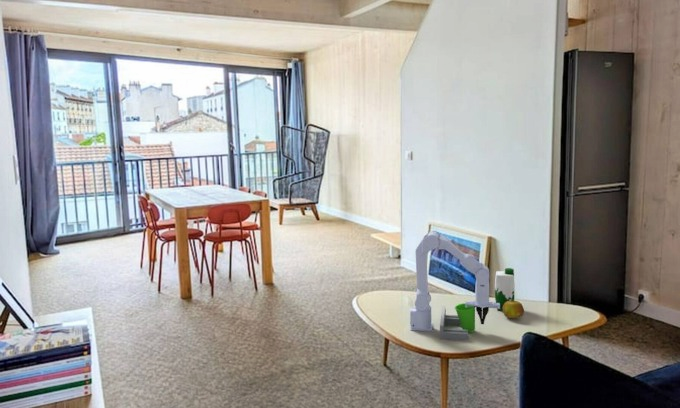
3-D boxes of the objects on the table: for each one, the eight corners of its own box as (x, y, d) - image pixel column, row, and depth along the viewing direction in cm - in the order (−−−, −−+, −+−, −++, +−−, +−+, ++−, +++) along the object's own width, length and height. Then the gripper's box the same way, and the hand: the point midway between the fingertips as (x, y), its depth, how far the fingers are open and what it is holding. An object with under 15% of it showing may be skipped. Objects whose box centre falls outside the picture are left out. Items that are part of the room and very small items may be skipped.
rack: (440, 339, 210) (440, 323, 209) (442, 320, 230) (442, 306, 229) (468, 340, 207) (467, 324, 206) (467, 322, 227) (467, 307, 226)
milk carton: (514, 312, 237) (515, 271, 234) (495, 311, 240) (495, 271, 237) (513, 306, 246) (513, 267, 243) (494, 305, 248) (494, 266, 245)
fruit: (515, 313, 236) (515, 297, 235) (528, 319, 227) (528, 302, 226) (498, 316, 233) (498, 299, 232) (510, 322, 225) (510, 305, 224)
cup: (481, 332, 212) (477, 308, 211) (460, 335, 213) (456, 311, 212) (476, 325, 221) (473, 301, 220) (456, 328, 222) (452, 304, 221)
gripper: (464, 295, 211) (465, 325, 213) (500, 297, 208) (500, 327, 210) (465, 290, 218) (465, 319, 220) (499, 291, 214) (499, 321, 216)
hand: (482, 323), depth 215 cm, fingers closed
